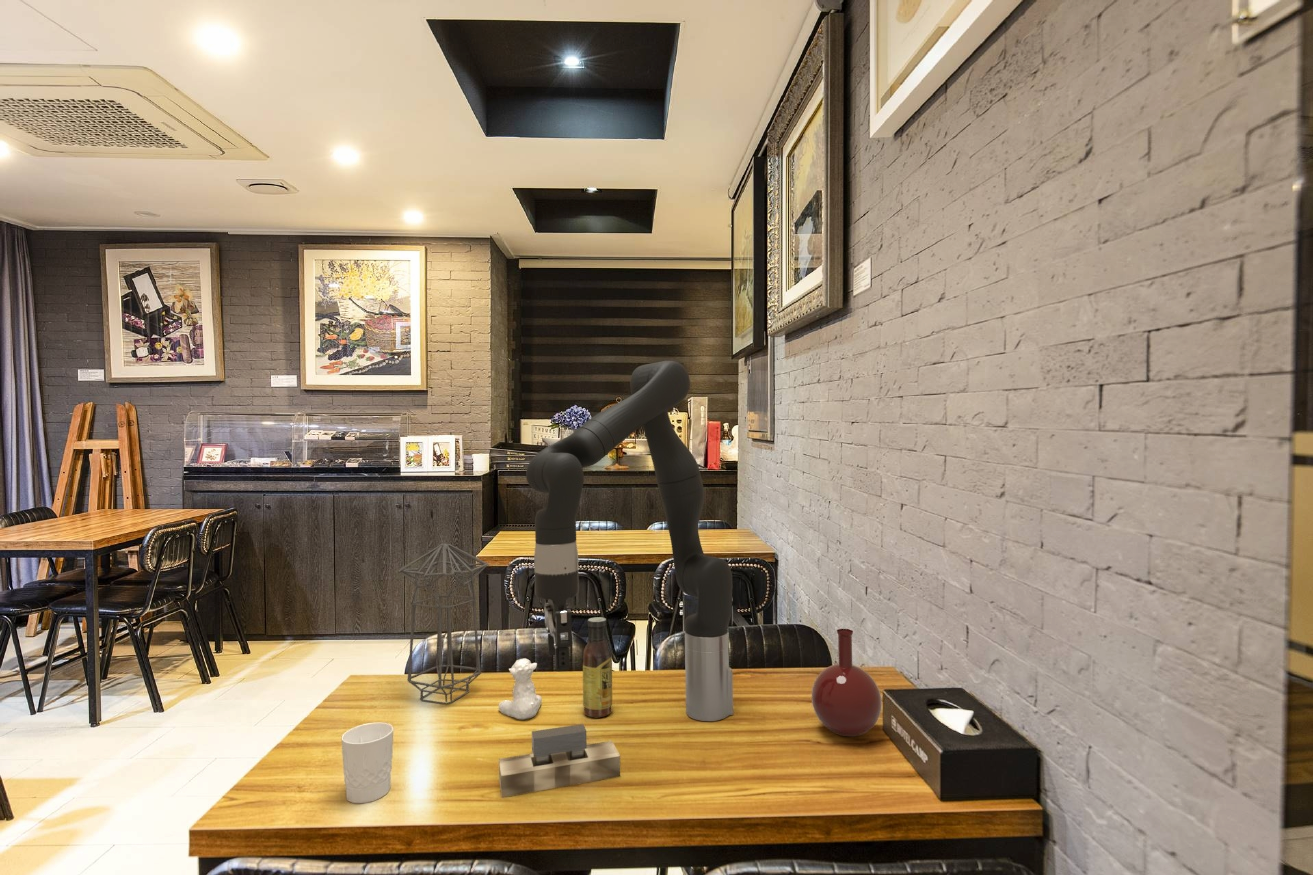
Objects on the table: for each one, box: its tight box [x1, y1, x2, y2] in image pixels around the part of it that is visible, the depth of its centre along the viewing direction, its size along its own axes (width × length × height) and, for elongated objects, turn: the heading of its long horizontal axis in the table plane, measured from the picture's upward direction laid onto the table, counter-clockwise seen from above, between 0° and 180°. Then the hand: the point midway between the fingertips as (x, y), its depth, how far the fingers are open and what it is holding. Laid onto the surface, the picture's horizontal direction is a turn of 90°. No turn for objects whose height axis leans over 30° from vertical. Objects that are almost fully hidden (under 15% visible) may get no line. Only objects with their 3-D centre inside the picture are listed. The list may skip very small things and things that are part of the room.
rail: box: [498, 740, 621, 798], centre depth 110 cm, size 20×6×4 cm, turn 108°
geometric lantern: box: [398, 543, 490, 706], centre depth 148 cm, size 16×16×35 cm
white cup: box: [341, 722, 394, 804], centre depth 107 cm, size 8×8×10 cm
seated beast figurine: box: [498, 657, 542, 721], centre depth 137 cm, size 10×9×12 cm
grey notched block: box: [531, 723, 588, 766], centre depth 110 cm, size 9×3×8 cm, turn 107°
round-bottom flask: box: [811, 628, 883, 737], centre depth 126 cm, size 13×13×20 cm
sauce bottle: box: [582, 616, 613, 719], centre depth 137 cm, size 7×6×20 cm
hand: (558, 661), depth 111 cm, fingers open, 8 cm apart
